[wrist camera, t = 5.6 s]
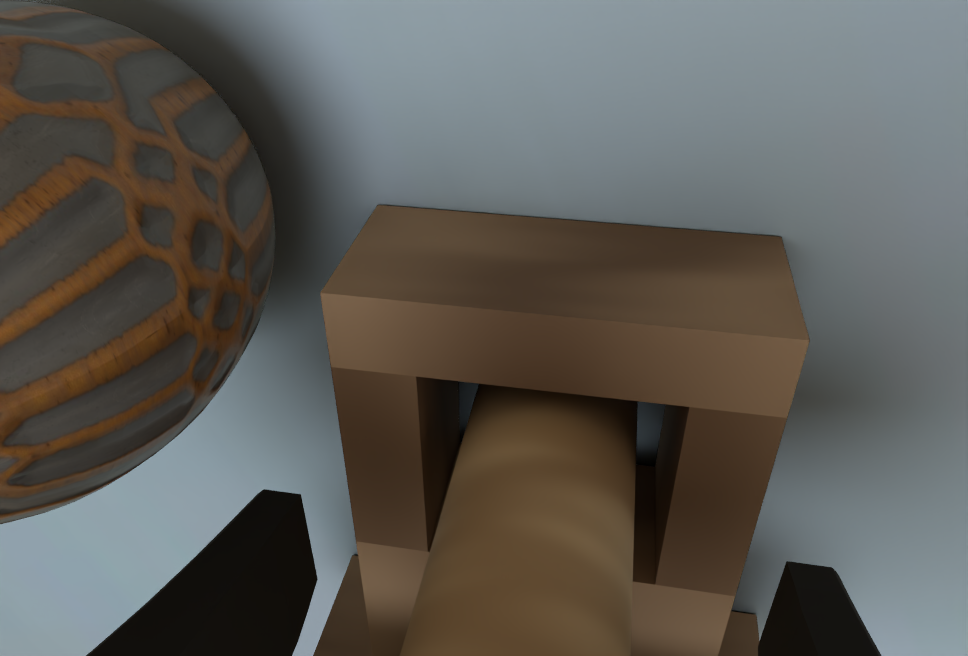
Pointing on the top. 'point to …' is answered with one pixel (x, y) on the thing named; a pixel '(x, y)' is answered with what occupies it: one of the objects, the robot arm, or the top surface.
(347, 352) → the brown boxy frame piece
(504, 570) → the oak peg
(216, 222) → the vase
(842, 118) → the top surface
